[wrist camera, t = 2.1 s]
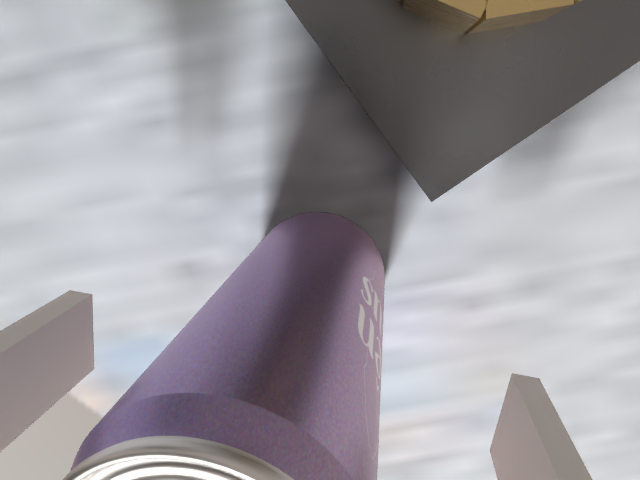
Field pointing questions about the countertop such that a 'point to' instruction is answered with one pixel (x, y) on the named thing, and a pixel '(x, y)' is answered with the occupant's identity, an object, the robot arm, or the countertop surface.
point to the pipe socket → (469, 70)
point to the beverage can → (262, 372)
